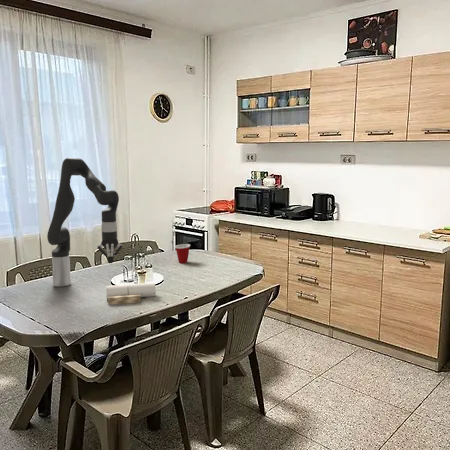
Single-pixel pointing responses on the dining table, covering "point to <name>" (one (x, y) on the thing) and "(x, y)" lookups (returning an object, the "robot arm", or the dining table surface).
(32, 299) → the dining table surface
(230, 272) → the dining table surface
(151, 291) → the cylindrical container
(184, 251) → the plastic cup
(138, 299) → the rest
